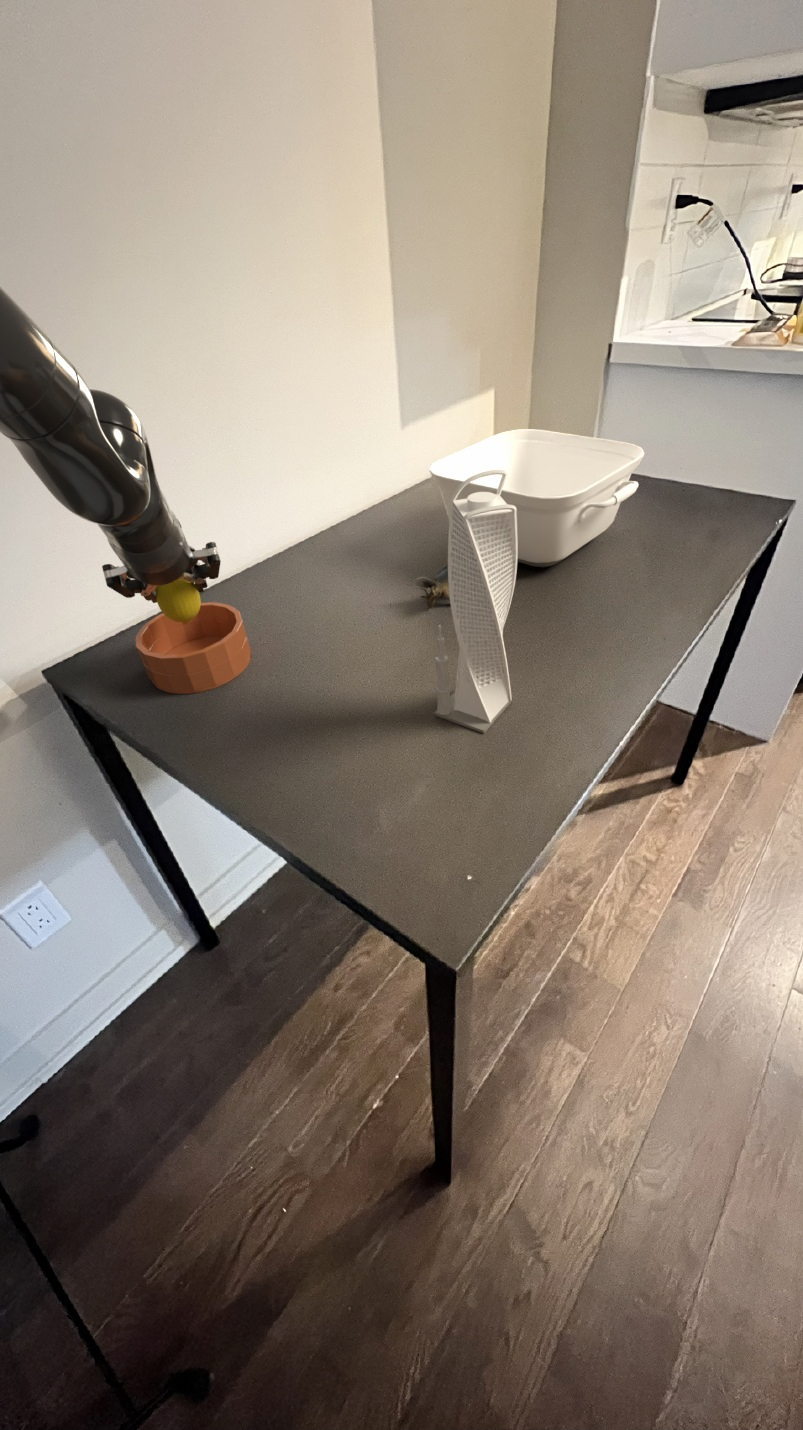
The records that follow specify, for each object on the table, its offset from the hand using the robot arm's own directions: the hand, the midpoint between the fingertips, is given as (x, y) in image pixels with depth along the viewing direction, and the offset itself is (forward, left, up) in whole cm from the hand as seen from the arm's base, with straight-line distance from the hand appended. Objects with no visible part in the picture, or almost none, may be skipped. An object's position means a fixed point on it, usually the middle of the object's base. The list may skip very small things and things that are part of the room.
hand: (177, 590), depth 85 cm
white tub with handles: (+52, +33, -11) cm, 62 cm away
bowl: (+1, -2, -11) cm, 11 cm away
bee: (+37, +13, -11) cm, 41 cm away
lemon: (+1, -2, -4) cm, 5 cm away
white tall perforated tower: (+41, -14, -11) cm, 44 cm away
